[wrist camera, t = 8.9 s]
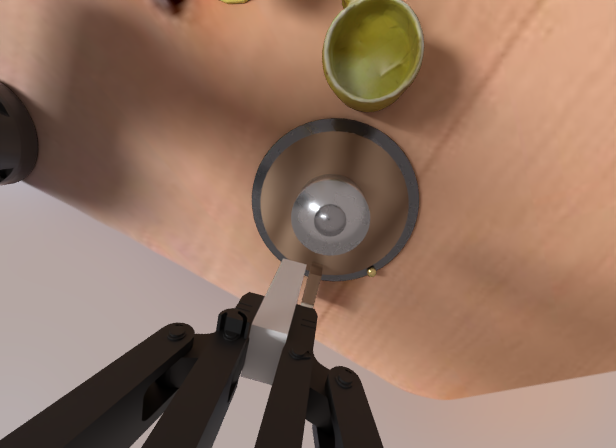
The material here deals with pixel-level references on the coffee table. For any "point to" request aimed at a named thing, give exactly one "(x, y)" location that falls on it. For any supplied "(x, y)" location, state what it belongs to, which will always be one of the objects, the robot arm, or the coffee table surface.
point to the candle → (233, 1)
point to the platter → (355, 166)
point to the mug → (372, 52)
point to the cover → (330, 215)
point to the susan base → (357, 129)
